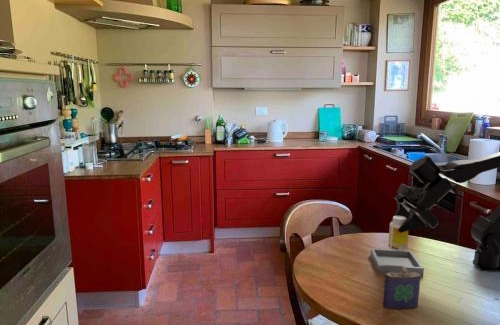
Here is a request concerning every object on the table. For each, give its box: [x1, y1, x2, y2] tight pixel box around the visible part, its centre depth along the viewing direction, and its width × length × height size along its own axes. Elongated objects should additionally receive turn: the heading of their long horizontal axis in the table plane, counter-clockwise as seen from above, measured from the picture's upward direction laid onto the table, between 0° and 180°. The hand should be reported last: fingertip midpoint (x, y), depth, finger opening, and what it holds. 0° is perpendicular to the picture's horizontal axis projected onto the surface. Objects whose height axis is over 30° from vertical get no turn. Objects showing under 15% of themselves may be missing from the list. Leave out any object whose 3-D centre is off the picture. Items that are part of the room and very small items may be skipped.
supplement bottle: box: [387, 215, 409, 251], centre depth 121 cm, size 6×6×10 cm
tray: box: [370, 248, 425, 277], centre depth 122 cm, size 13×13×2 cm
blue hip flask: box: [382, 267, 422, 311], centre depth 98 cm, size 9×3×11 cm, turn 95°
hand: (394, 228), depth 120 cm, fingers closed on supplement bottle, 5 cm apart
